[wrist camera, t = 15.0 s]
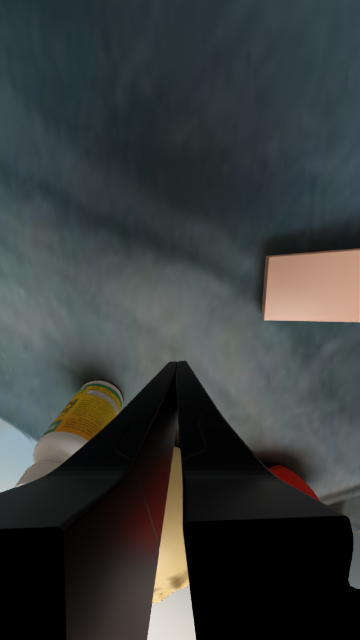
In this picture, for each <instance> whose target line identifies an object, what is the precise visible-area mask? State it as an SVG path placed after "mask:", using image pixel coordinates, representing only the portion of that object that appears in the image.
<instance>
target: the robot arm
mask: <svg viewBox="0 0 360 640" xmlns="http://www.w3.org/2000/svg"><path fill="white" fill-rule="evenodd" d="M177 422H178V424H179V438H180V452H181V463H182V464H181V466H182V484H183V538H184V546H185V554H186V561H187V569H188V577H189V585H190V593H191V601H192V609H193V616H194V625H195V633H196V640H360V589H356V588H354V587H351V586H350V584H349V581H348V577H349V571H350V565H351V560H352V553H353V533H352V528H351V524H350V520H349V518H348V517H347V516H345V515H343V514H341V513H340V512H338V511H336V510H334V509H333V508H331V507H329V506H327V505H325V504H324V503H322V502H320V501H318V500H316V499H315V498H313V497H311V496H309V495H307V494H306V493H304V492H302V491H300V490H298V489H297V488H295V487H293V486H291V485H289V484H288V483H286V482H284V481H282V480H281V479H279V478H278V477H277V476H275V475H274V474H273V473H272V472H271V471H270V470H269V469H268V468H267V467H266V466H265V465H264V464H263V463H262V462H261V461H260V460H259V459H258V458H257V456H256V455H255V454H254V453H253V452H252V451H251V449H250V448H249V447H248V446H247V445H246V444H245V443H244V441H243V440H242V439H241V438H240V437H239V436H238V434H237V433H236V432H235V431H234V430H233V429H232V427H231V426H230V425H229V424H228V422H227V421H226V420H225V419H224V417H223V416H222V414H221V413H220V412H219V410H218V409H217V407H216V406H215V404H214V403H213V401H212V400H211V398H210V397H209V395H208V394H207V392H206V391H205V389H204V387H203V386H202V384H201V383H200V381H199V380H198V378H197V377H196V375H195V374H194V372H193V371H192V369H191V368H190V366H189V365H188V363H187V362H186V361H179V362H177V361H174V362H169V363H168V364H167V365H166V366H165V367H164V368H163V369H162V370H161V371H160V372H159V373H158V374H157V375H156V376H155V377H154V378H153V379H152V380H151V381H150V382H149V383H148V384H147V385H146V386H145V387H144V388H143V389H142V390H141V391H140V392H139V393H138V394H137V395H136V396H135V397H134V398H133V400H132V401H131V402H130V403H129V404H128V405H127V406H126V407H125V408H124V409H123V410H122V411H121V412H120V413H119V414H118V415H117V416H116V417H115V418H114V419H112V420H111V421H110V422H109V423H108V424H107V425H106V426H105V427H104V428H103V429H102V430H100V431H99V432H98V433H97V434H96V435H95V436H94V437H92V438H91V439H90V440H89V441H88V442H87V443H85V444H84V445H83V446H82V447H81V448H80V449H79V450H77V451H76V452H75V453H74V454H73V455H72V456H70V457H69V458H68V459H67V460H66V461H65V462H63V463H62V464H61V465H60V466H58V467H57V468H56V469H54V470H53V471H51V472H50V473H48V474H46V475H45V476H43V477H41V478H39V479H37V480H34V481H32V482H29V483H26V484H23V485H21V486H18V487H15V488H12V489H10V490H7V491H4V492H1V493H0V640H147V635H148V628H149V620H150V614H151V607H152V600H153V593H154V586H155V579H156V572H157V564H158V557H159V548H160V543H161V535H162V528H163V521H164V514H165V507H166V500H167V493H168V486H169V479H170V471H171V464H172V457H173V450H174V443H175V436H176V429H177Z"/></svg>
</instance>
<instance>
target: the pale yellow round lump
mask: <svg viewBox="0 0 360 640" xmlns="http://www.w3.org/2000/svg"><path fill="white" fill-rule="evenodd" d="M181 464H182V463H181V452H180V448H178V447H175V446H174V450H173V457H172V464H171V471H170V479H169V486H168V493H167V500H166V507H165V514H164V521H163V528H162V535H161V543H160V548H159V557H158V564H157V572H156V579H155V586H154V593H153V600H152V603H156V602H159V601H163V599H165V598H166V597H168V596H169V594H171V593H173V592H174V591H176V590H178V589H183V588H185V587H187V586H188V585H189V577H188V569H187V561H186V554H185V546H184V538H183V484H182V466H181Z"/></svg>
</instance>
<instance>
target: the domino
mask: <svg viewBox="0 0 360 640" xmlns="http://www.w3.org/2000/svg"><path fill="white" fill-rule="evenodd" d="M262 315H263V318H264V320H285V321H331V322H360V248H356V249H344V250H331V251H319V252H307V253H294V254H282V255H270V256H266V260H265V273H264V286H263V300H262Z"/></svg>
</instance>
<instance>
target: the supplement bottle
mask: <svg viewBox="0 0 360 640" xmlns="http://www.w3.org/2000/svg"><path fill="white" fill-rule="evenodd" d="M122 406H123V398H122V395H121V393H120V391H119V390H118V389H117V388H116V387H115V386H114V385H112V384H110V383H108V382H105V381H91V382H88V383H86V384H84V385H83V386H82V387H81V388H80V390H79V391H78V392H77V393H76V395H75V396H74V397H73V398H72V400H71V401H70V402H69V403H68V405H67V406H66V407H65V409H64V410H63V411H62V412H61V413H60V415H59V416H58V417H57V418H56V420H55V421H54V422H53V423H52V425H51V426H50V427H49V428H48V430H47V431H46V432H45V434H44V435H43V436H42V437H41V438H40V440H39V441H38V443H37V444H36V446H35V448H34V452H33V461H34V464H33V465H32V466H31V467H29V468H28V469H27V470H26V471H25V473H24V474H23V476H22V477H21V479H20V480H19V481H18V483H17V484H16V486H15V487H18V486H21V485H23V484H26V483H29V482H32V481H34V480H37V479H39V478H41V477H43V476H45V475H46V474H48V473H50V472H51V471H53V470H54V469H56V468H57V467H58V466H60V465H61V464H62V463H63V462H65V461H66V460H67V459H68V458H69V457H70V456H72V455H73V454H74V453H75V452H76V451H77V450H79V449H80V448H81V447H82V446H83V445H84V444H85V443H87V442H88V441H89V440H90V439H91V438H92V437H94V436H95V435H96V434H97V433H98V432H99V431H100V430H102V429H103V428H104V427H105V426H106V425H107V424H108V423H109V422H110V421H111V420H112V419H114V418H115V417H116V416H117V415H118V414H119V413H120V411H121V409H122ZM15 487H14V488H15Z"/></svg>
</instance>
